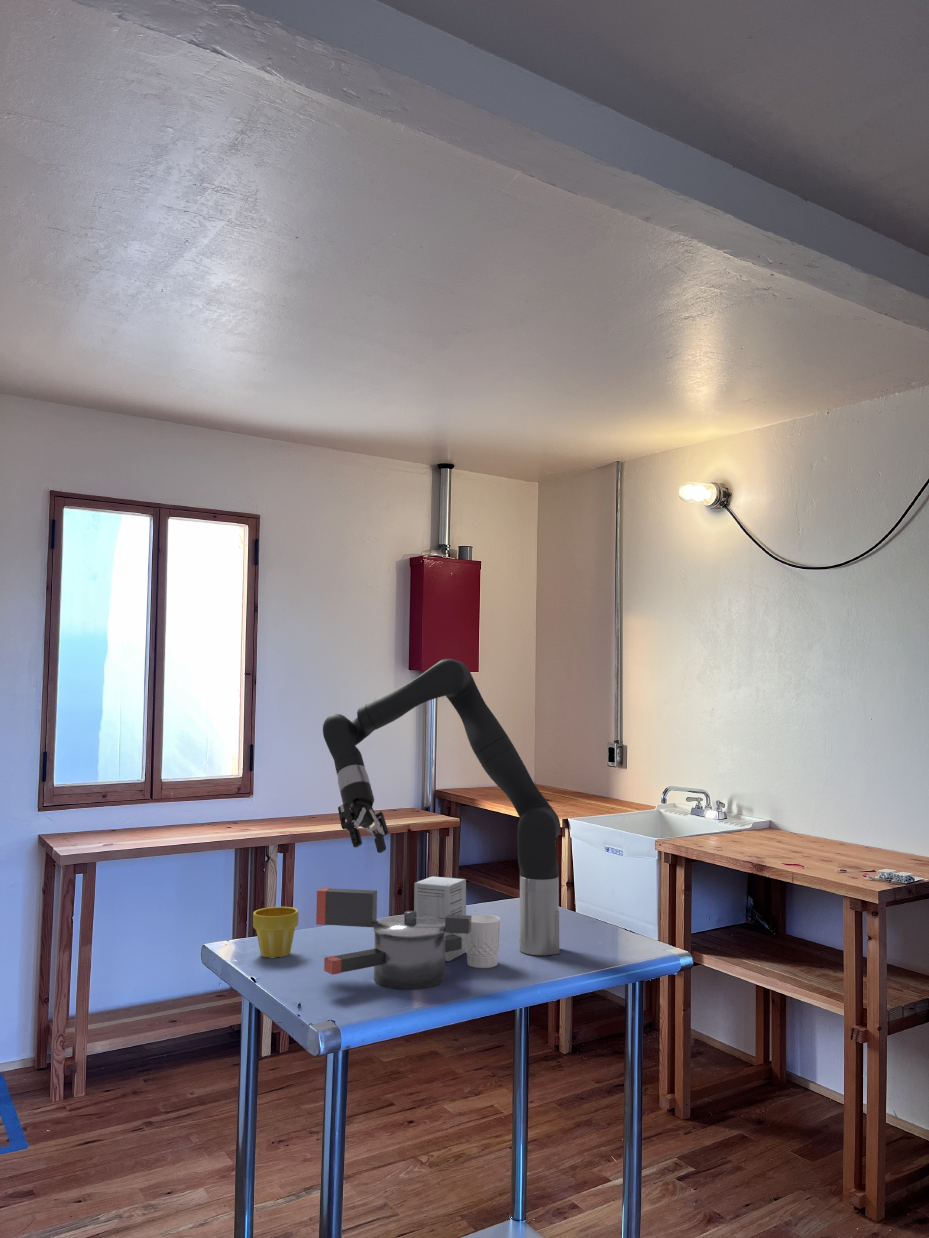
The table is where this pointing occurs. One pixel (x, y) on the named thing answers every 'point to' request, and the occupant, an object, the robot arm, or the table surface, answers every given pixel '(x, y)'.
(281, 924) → the plant pot
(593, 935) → the table surface
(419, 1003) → the table surface
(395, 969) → the pot
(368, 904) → the lid
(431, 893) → the supplement box
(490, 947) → the white cup
